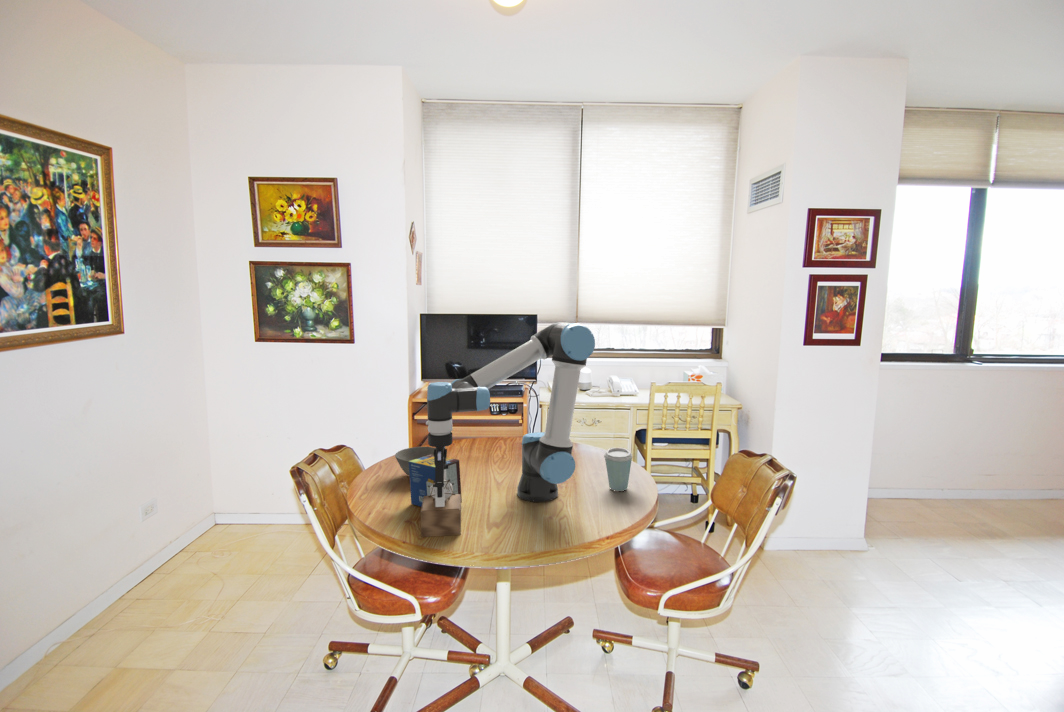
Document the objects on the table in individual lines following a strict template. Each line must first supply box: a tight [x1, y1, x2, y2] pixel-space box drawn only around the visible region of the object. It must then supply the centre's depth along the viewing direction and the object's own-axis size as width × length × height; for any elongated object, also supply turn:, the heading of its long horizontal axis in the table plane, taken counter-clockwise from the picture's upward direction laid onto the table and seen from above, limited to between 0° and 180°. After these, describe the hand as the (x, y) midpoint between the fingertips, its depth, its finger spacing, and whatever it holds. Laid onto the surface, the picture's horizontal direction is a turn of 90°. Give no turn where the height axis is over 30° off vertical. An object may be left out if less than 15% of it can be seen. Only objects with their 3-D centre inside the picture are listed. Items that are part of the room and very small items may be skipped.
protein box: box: [409, 455, 463, 508], centre depth 174 cm, size 10×15×16 cm
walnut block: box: [420, 493, 462, 538], centre depth 158 cm, size 12×12×8 cm
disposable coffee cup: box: [603, 447, 633, 492], centre depth 189 cm, size 11×11×15 cm
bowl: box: [394, 446, 436, 478], centre depth 201 cm, size 19×19×10 cm
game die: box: [428, 479, 455, 501], centre depth 157 cm, size 9×8×10 cm
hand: (441, 497), depth 157 cm, fingers open, 13 cm apart
